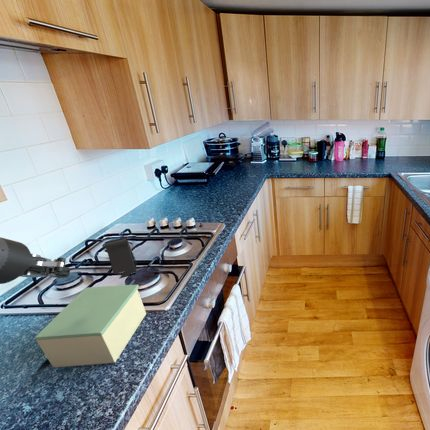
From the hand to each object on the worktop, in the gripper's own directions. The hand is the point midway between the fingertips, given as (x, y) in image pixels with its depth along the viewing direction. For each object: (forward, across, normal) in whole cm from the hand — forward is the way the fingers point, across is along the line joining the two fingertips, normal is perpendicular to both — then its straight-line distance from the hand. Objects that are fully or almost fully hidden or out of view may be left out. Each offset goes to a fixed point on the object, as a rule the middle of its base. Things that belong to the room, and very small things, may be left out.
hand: (65, 273), depth 62 cm
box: (+17, 0, +14) cm, 22 cm away
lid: (+11, 0, +8) cm, 13 cm away
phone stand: (+38, +10, -7) cm, 40 cm away
